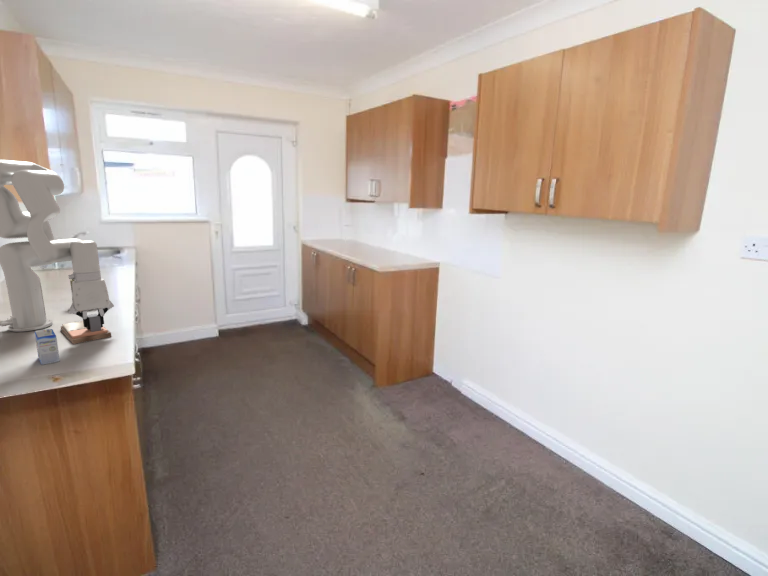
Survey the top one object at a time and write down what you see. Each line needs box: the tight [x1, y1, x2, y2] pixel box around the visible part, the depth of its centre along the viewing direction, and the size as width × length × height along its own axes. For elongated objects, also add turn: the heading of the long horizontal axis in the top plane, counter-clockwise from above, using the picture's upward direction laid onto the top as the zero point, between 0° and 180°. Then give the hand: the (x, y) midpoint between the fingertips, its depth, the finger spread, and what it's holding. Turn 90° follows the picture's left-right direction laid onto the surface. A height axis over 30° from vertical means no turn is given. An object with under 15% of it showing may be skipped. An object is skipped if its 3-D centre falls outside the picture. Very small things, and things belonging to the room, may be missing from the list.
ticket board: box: [60, 320, 112, 345], centre depth 149 cm, size 11×20×2 cm, turn 47°
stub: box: [68, 313, 109, 339], centre depth 144 cm, size 10×7×6 cm
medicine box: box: [34, 328, 61, 366], centre depth 124 cm, size 8×4×9 cm, turn 45°
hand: (94, 327), depth 146 cm, fingers closed on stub, 3 cm apart
